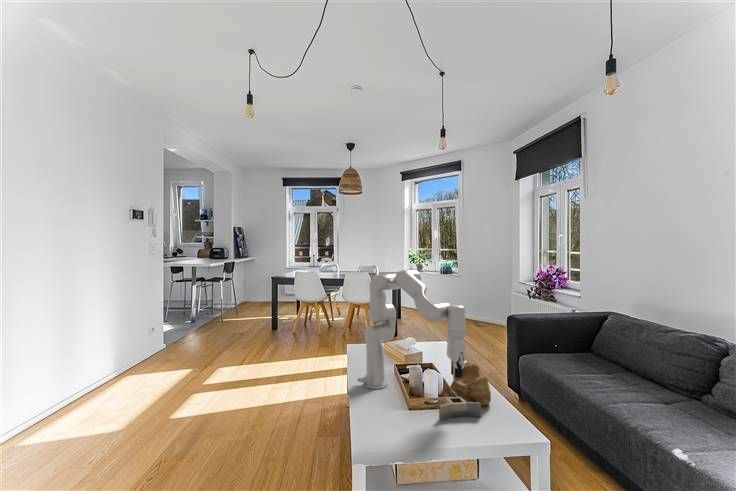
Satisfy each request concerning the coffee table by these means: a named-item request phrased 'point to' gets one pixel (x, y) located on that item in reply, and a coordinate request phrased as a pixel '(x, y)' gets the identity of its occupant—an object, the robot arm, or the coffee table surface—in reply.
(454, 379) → the hinge pin
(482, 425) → the coffee table surface
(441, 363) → the coffee table surface
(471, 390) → the rough brown rock
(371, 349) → the robot arm
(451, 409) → the hinge
